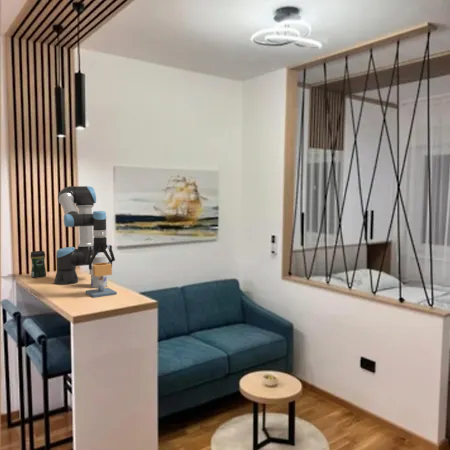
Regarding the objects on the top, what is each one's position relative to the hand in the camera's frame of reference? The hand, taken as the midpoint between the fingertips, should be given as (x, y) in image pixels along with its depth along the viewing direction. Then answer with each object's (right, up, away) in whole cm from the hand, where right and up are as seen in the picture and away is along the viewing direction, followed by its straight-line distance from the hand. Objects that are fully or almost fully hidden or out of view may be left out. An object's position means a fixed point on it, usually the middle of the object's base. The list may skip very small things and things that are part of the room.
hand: (100, 273), depth 255 cm
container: (-7, -11, +21) cm, 24 cm away
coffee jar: (-59, -8, +50) cm, 77 cm away
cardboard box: (0, 0, 0) cm, 0 cm away
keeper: (0, -12, +1) cm, 12 cm away
